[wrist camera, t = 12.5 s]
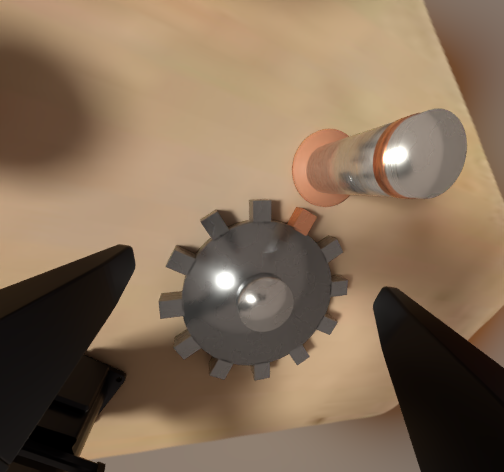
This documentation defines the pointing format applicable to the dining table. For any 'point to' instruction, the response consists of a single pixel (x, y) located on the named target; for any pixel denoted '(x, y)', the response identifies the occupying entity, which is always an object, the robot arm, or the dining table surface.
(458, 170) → the pin
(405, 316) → the robot arm
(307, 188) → the seat pad
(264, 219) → the sprocket
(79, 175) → the dining table surface
